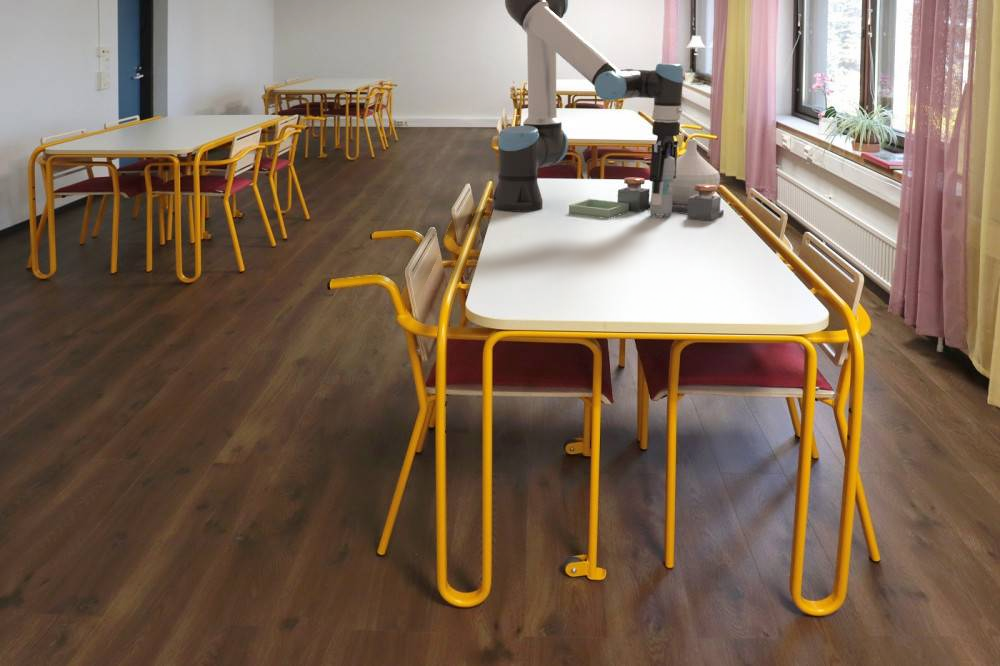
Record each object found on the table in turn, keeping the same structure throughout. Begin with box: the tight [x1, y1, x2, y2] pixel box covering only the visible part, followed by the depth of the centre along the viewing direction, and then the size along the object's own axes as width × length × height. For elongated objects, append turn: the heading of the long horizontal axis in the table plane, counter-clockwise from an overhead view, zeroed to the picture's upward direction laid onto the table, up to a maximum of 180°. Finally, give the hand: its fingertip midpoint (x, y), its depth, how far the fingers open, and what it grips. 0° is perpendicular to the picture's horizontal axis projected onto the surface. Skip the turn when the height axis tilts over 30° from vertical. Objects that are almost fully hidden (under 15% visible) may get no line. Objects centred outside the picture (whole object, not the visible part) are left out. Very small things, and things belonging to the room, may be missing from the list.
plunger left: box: [623, 177, 646, 191], centre depth 288 cm, size 6×6×8 cm
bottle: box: [649, 149, 675, 219], centre depth 277 cm, size 7×7×20 cm
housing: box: [617, 186, 724, 222], centre depth 285 cm, size 29×10×6 cm, turn 58°
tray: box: [568, 198, 629, 219], centre depth 284 cm, size 13×13×2 cm
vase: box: [672, 139, 721, 206], centre depth 299 cm, size 18×18×19 cm
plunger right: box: [695, 184, 717, 199], centre depth 277 cm, size 6×6×8 cm
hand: (661, 202), depth 279 cm, fingers closed on bottle, 6 cm apart
